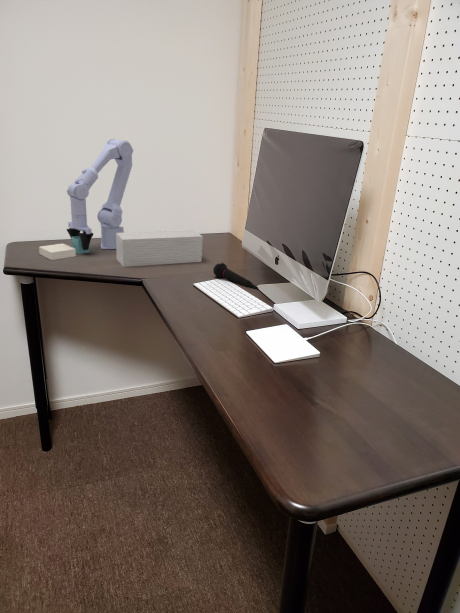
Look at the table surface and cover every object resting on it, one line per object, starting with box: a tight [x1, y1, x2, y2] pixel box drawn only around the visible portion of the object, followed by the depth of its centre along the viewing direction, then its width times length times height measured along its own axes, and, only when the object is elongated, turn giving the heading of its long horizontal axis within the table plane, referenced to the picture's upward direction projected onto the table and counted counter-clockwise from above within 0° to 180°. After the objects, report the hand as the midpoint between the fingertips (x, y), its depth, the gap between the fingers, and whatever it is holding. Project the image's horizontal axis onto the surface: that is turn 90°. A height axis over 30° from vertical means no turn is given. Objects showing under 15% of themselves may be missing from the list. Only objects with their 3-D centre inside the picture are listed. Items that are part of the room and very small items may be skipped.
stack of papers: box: [115, 229, 204, 268], centre depth 183 cm, size 32×11×11 cm, turn 116°
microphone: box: [212, 262, 259, 290], centre depth 165 cm, size 6×6×20 cm
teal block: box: [70, 236, 91, 255], centre depth 187 cm, size 5×5×6 cm
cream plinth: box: [38, 242, 77, 261], centre depth 181 cm, size 10×10×3 cm
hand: (80, 247), depth 188 cm, fingers open, 7 cm apart
